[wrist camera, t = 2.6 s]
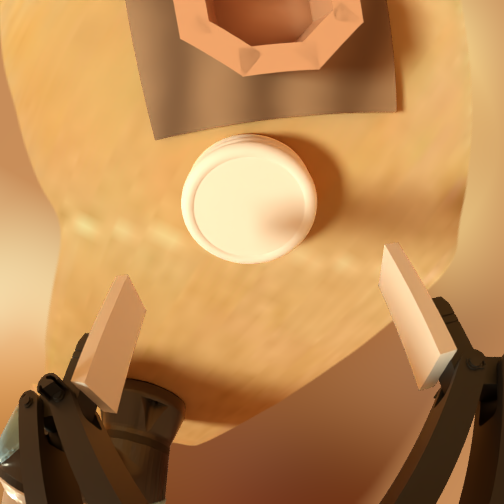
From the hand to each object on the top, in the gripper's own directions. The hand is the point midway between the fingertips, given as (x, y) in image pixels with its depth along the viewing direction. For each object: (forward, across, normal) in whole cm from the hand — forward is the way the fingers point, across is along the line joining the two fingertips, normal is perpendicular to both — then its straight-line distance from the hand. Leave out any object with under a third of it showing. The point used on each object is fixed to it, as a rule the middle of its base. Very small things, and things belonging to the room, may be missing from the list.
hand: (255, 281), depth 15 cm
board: (+11, +2, +14) cm, 18 cm away
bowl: (+10, +2, +14) cm, 17 cm away
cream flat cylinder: (+12, 0, 0) cm, 12 cm away
